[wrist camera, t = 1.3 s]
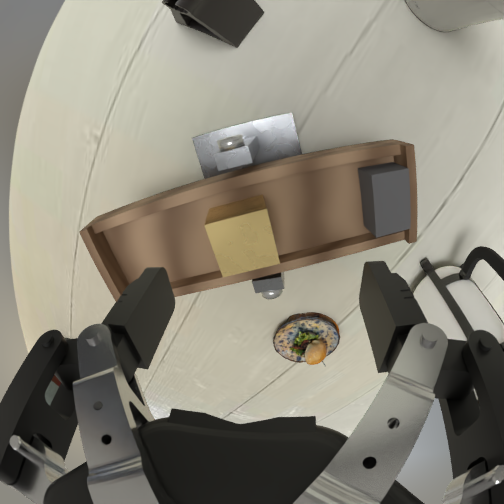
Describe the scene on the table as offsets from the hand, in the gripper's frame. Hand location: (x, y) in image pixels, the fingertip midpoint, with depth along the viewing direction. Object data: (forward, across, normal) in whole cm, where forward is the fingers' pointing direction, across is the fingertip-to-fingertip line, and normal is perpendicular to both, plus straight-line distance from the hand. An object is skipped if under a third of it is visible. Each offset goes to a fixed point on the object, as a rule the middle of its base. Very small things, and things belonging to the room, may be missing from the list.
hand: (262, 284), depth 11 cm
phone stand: (+25, +5, -20) cm, 32 cm away
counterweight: (+17, -10, +2) cm, 20 cm away
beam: (+16, +2, +4) cm, 17 cm away
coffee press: (+25, -27, +19) cm, 41 cm away
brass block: (+15, +3, +4) cm, 15 cm away
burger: (+25, -4, +30) cm, 40 cm away
